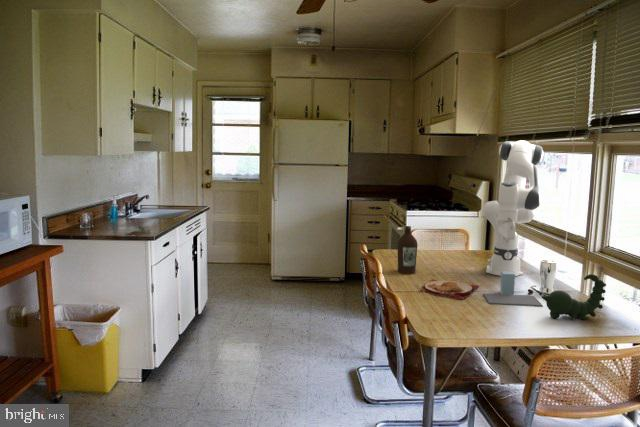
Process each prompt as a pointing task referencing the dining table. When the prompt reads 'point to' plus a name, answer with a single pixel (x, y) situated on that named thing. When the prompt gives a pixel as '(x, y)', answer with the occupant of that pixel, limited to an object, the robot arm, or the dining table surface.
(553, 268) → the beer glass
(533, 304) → the charcoal mat
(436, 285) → the plate with food
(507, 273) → the slate block
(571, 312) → the toy figurine
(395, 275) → the dining table surface
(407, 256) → the brown bottle
